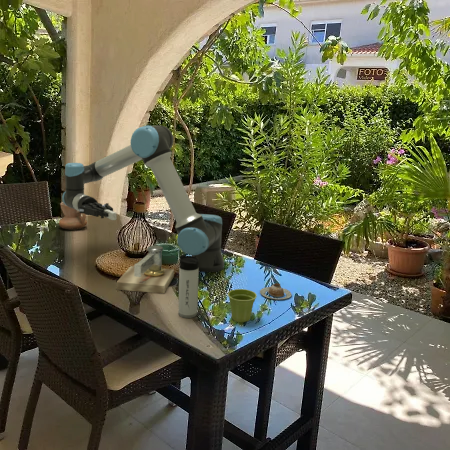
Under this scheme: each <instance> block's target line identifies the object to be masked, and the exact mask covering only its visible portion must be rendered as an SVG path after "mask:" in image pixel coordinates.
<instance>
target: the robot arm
mask: <svg viewBox="0 0 450 450" xmlns="http://www.w3.org/2000/svg"><path fill="white" fill-rule="evenodd" d="M173 135H174V134H173V133H172V131H171V130H170V129H169V128H168V127H167V126H164V125H160V124H158V125H157V124H156V125H143V126H139V127H138V128H137V129H135V130H134V131H133V132H132V135H131V138H130V145H127V146H125V147H124V148H122V149H119V150H117V151H116V152H115V151H114V152H113V153H110V154H109V155H107V156H105V157H102V158H100V159H98V160H97V161H95V162H92V163H91V164H87V165H84V164H83V163H81V162H68V163H66V164H65V167H64V168H65V170H64V171H65V172H64V179H65V180H64V181H65V182H64V183H65V184H64V185H65V190H64V192H63V193H62V196H61V199H62V202H63V203H64V204H65V205H67V206H68V207H70V208H73V209H75V210H77V211H79V212H80V213H84V214H86V216H93V217H96V218H98V217H100V219H104V218H106V219H109V220H111V221H116V220H117V212H115V211H114V208H113V207H112V206H111V205H110V204H109V203H108V202H107V203H104V204H102V203H99V202H98V200H97V199H96V198H95V197H92V196H90V195H87V194H85V184H90V183H94V182H98V181H100V180H102V179H103V178H105V177H107V176H109V175H111V174H113V173H116V172H117V171H120V170H122V169H124V168H126V167H129V166H130V165H133V164H135V163H137V162H140V161H143V164H144V166H146V167H149V168H150V169H151V172H152V173H153V176H154V177H155V179H156V183H157V184H158V186H159V188H160V191H161V192H162V195H163V197H164V199H165V201H166V202H167V204H168V206H169V208H170V211H171V213H172V215H173V217H174V219H175V221H176V223H175V226H174V227H175V231H176V232H177V240H176V241H177V245H178V247H179V248H180V250H181V251H182V252H183V253H184V254H185V255H188V256H193V257H196V258H197V259H198V260H199V265H198V266H199V269H198V270H199V272H198V273H215V272H217V273H218V272H221V271H222V270H224V268H225V260H224V256H223V254H222V249H221V248H222V232H223V218H222V217H221V216H219V215H216V214H206V213H205V214H204V213H197V212H196V209H195V207H194V205H193V203H192V201H191V199H190V197H189V195H188V193H187V190H186V188H185V186H184V184H183V182H182V180H181V178H180V176H179V174H178V172H177V169H176V167H175V165H174V163H173V161H172V159H171V157H172V153H173V152H172V150H171V149H172V148H173V145H174V136H173Z"/></svg>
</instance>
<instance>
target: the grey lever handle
mask: <svg viewBox="0 0 450 450" xmlns="http://www.w3.org/2000/svg"><path fill="white" fill-rule="evenodd" d="M146 248H147V252H148V253H147V254H146V255H145V256H144V257H143V258H142V259H141V260H139V261H138V262H137V263H136V262H135V263H134V264H133V266H134V276H135V277H141V276H142V274H145V275H147V276H160V275H163V274H164V269H165V268H163V267H162V262H163V261H162V259H163V258H162V252H163V251H164V247H163V246H161V245H149V246H147V247H146Z"/></svg>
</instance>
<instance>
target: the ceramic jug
mask: <svg viewBox="0 0 450 450" xmlns="http://www.w3.org/2000/svg"><path fill="white" fill-rule="evenodd" d="M59 205H60V209H61V211H62V213H63V217H62V218H61V219H60V220H59V221H58V224H59V227H61V229H65V230H75V231H76V230H80V229H82V228H85V227H86V226H87V225H88V221H87V215H86V214H84V213H80V212H79V211H77V210H75V209H73V208H70V207H68V206H67V205H65V204H64V203H63V201H62V202H60V204H59Z"/></svg>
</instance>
